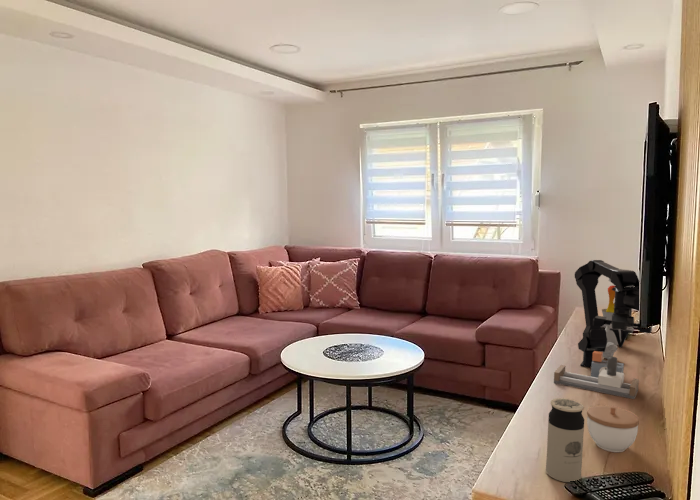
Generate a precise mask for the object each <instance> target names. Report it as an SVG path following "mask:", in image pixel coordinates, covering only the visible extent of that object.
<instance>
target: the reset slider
mask: <svg viewBox="0 0 700 500" xmlns="http://www.w3.org/2000/svg"><path fill="white" fill-rule="evenodd" d="M603 358H604V357H603V352H598V351H594V352H593V356H592V361H597V362H601V361H602V360H604V359H603Z"/></svg>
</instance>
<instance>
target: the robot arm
mask: <svg viewBox="0 0 700 500" xmlns="http://www.w3.org/2000/svg"><path fill="white" fill-rule="evenodd" d="M601 276H604V277H606V278H608V279H609V278H610V279H611V282H610V283H612V285H613V286H615V287H614V288H612V290H613V291H615V298H614V301H613V303H614V313H613V316H612V320H607V317H603V315H602V316H601V315H599V311H598V304H597V303H598V302H597V295H596V288H597V286H598V285H599V278H600V277H601ZM574 279H575V283H576V286H577V287H578V288H579V289H580V290H581V295H582V296H581V297H582V303H583V311H584V320H585V328H584V330H583V332H582V338H581V340H580V341H579V342H578V343H577V348H578V350H580V351H581V352H583V353H582V355H583V356H582V361H581V363H580V366H581V367H584V368H585V367H587V368H591V364H592V356H593V352H594V351H598V352H605V348H606V345H607V336H606V330H605V329H603V326H606V325H610V330H612V331H613V332H614V334H615V336H616V339H617V342H618V345H617V346H618V348H623V346H624V343H625V341H626V339H627V336H628V335H629V334H633V332H634V330H635V329H636V330H638V331H639V333H645V334H651V333H652V332H653V325H652V326H651V327H649V328H647V329H642V328H640V323H639V322H638V323H637V322H635V317H634V316H632V314H633V310H635V311H638V312H640V311H639V282H640V279H639V277H638V274H637V273H636V271H634V270H630V269H622V268H619V269H618V267H616V266H613V265H611V264H609V263H608V262H605V261H604V260H602V259H591V260H589V261H588V262H587V263H585V264H583V265H581V266H579V268H578V269H577V270H576V271H575V272H574Z"/></svg>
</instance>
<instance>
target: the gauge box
mask: <svg viewBox="0 0 700 500" xmlns="http://www.w3.org/2000/svg"><path fill="white" fill-rule="evenodd" d="M607 361H608V360H605V359H602V361H601V362H597V361H592V364H591V367H590V376H591V377H596V378H598V375H599V374H600V372H601V371H602V369H604V370H607ZM624 368H625V363H622V362H617V371H616V372H620V373H624V370H625V369H624Z"/></svg>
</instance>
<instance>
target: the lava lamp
mask: <svg viewBox="0 0 700 500" xmlns="http://www.w3.org/2000/svg"><path fill="white" fill-rule="evenodd" d="M617 268H618V267H617ZM618 269H620V268H618ZM608 282H610V283H611V279H610V278H608ZM614 287H615V285H614V284H612V285H610V286H608V288H607V294H608V305H607V308H602V309H601V313H602V316H603V317H607V320H612V316H613V313H614V302H615V291H613V290H612V288H614ZM605 330H606V336H607V343H608V342H611V343H614V345H616V346H619V345H618V342H617V339H616V336H615V334H614V332H613V331H612V330H610V325H606V324H605Z"/></svg>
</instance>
